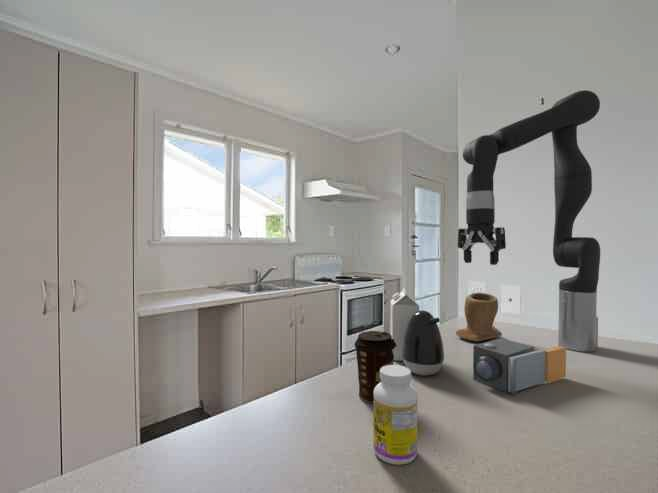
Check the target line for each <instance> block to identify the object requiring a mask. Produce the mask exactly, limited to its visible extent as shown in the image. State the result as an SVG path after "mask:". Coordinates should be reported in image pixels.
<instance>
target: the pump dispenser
mask: <svg viewBox="0 0 658 493" xmlns="http://www.w3.org/2000/svg"><path fill="white" fill-rule="evenodd" d="M439 322H440V318H439V317H434V316H433V314H431V312H429V311H427V310H419V311H417V312H416V313H414V314H413V316H412V317H411V319H410V321H409V323H408V325H407V328H406V331H405V335H404V339H403V345H402V358H403V361H402V362H403V364H404V367H406V368H408V369H410V371H411V374H412V373H413V374H415V375H418V376H422V377H424V376H426V377H427V376H432V375H434V374H436V373H438V372H439V371H440V369H441V368H442V365H443V363H444V361H445V349H444V343H443V338H442V335H441V331H440V327H439V325H438V323H439Z"/></svg>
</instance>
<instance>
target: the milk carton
mask: <svg viewBox="0 0 658 493" xmlns="http://www.w3.org/2000/svg"><path fill="white" fill-rule="evenodd" d="M391 297H392V299H391V300H390V307H389V308H390V312H389V314H390V316H389V317H390V318H389V319H390V320H389V322H390V326H389V329H390V330H389V331H390V332H389V334H391V336H392V339H394V341H395V343H396V345H397V346H396V347H395V348H394V349H393V350H392V351H393V355H394V361H399V362H400V361H401V362H404V361H403V358H402V345H403V339H404V335H405V331H406V328H407V325H408V323H409V321H410V319H411V317H412V316H413V314H414V313H416V312H417V311H420V305H419V303H417V301H415V299H413V298H412V297H411V296H410V295H409V294H407V289H405V287H404V286H403V287H402V291H400V293H399V292H396V293H394V294H393V295H392V296H391Z"/></svg>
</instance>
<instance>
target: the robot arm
mask: <svg viewBox="0 0 658 493" xmlns="http://www.w3.org/2000/svg"><path fill="white" fill-rule="evenodd" d="M600 107H601V101H600V97H599V96H598V95H597V94H596V93H595V92H593V91H591V90H587V89H586V90H585V89H584V90H578V91H575V92H573V93H571V94H569V95H567V96H565V97H563V98H561V99H560V100H558V101H556V102H555V103H554V104H553V105H552V107H551V108H548V109H547V110H544V111H542V112H539V113H536V114H533V115H531V116H529V117H526V118H522V119H521V120H518V121H515V122H513V123H511V124H508V125H506V126H504V127H501V128H499V129H498V130H496V131H495V132H492V133H491V134H488V135H487V134H483V135H480V136H478V137H477V138H475V139H473V140H472V141H469V142H468V143H467V144H466V145H465V147H464V148H463V149H462V159H463V161H464V162H466V163H467V164H468V165H471V166H472V169H471V171H470V172H469V173H468V175H467V177H466V178H467V179H466V199H465V200H466V201H465V202H466V203H465V208H466V209H465V211H466V212H465V213H466V214H465V219H466V221H465V222H466V224H467V228H459V229H458V230H457V232H458V233H457V248H458V249H462V250H463V261H464V263H465V264H469V263H470V264H471V263H472V260H473V259H472V257H473V256H472V255H473V254H472V248H473V246H474V245H476V244H485V246H487V247H488V249H489V250H490V251H489V264H490V265H491V266H496V265H497V264H498V263H499V261H500V260H499V256H500V255H499V253H500V251H501V250H505V249H506V248H507V247H506V246H507V244H506V243H507V242H506V229H505V227H504V226H503V227H502V226H500V227H495V226H494V224H495V222H496V221H495V220H496V218H495V217H496V216H495V215H496V214H495V213H496V212H495V194H494V192H495V191H494V175H495V171H496V167H497V162H498V158H499V156H500V155H502V154H504V153H507V152H511V151H513V150H515V149H518V148H520V147H522V146H524V145H527V144H528V143H531V142H533V141H535V140H537V139H539V138H541V137H544V136H545V135H548V134H550V133H551V138H552V146H553V163H554V165H553V168H554V176H553V179H554V182H553V184H554V188H553V189H554V205H555V206H554V214H555V217H554V230H553V240H552V242H553V243H552V255H553V261H554V263H555V264H556V265H557V266H558V267H561V268H562V267H563V268H573V269H574V268H575V269H578V270H577V274H576V275H573V276H572V277H568V278H564V279H561V280H559V283H558V333H557V334H558V335H557V338H558V340H557V341H558V342H557V344H558V346H562V347H566V350H569V351H570V350H572V351H575V352H583V353H584V352H587V353H590V352H591V353H592V352H595V351H596V349H597V350H598V348H599V347H598V346H599V344H598V343H599V342H598V341H599V317H598V316H597V296H598V295H597V292H598V283H599V277H600V276H599V275H600V263H601V246H600V243H599V241H598V240H597V239H596V238H595V237H589V236H587V237H585V236H582V237H581V236H577V237H573V230H574V223H575V220H576V219H577V217H578V215H579V214H580V212H581V211H582V209H583V208H584V207H585V205H586V203H587V201H588V200H589V199H590V196H592V191H593V176H592V175H593V173H592V171H593V170H592V168H591V165H590V163H589V162H588V159H587V158H586V157H585V156H584V154H583V152H582V151H581V149H580V147H579V144H578V136H577V135H578V134H577V132H578V126H581V125H583V124H584V125H585V124H586V123H588V122H590V121H591V120H592V119H594V118H595V117H596V116H597V114H598V113H599V110H600V109H601V108H600ZM494 235H495V238H494Z"/></svg>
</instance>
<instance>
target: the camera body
mask: <svg viewBox="0 0 658 493" xmlns="http://www.w3.org/2000/svg"><path fill="white" fill-rule="evenodd" d="M533 351H535V346H533V345H529V344H526V343H521V342H518V341H514V340H510V339H505V338H502V337H500V338H497V339H496V338H495V339H493V340H489V341H486V342H482V343H481V342H480V343H478V344H473V355H472V356H473V357H472V360H473V361H472V367H473V368H472V370H473V373H472V379H473V381H476V382H478V383H481V384H483V385H486V386H489V387H491V388H494V389H497V390H499V391H502V392H505V393H508V392H509V391H508V357H513V356H517V355H521V354H525V353H529V352H533Z"/></svg>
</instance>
